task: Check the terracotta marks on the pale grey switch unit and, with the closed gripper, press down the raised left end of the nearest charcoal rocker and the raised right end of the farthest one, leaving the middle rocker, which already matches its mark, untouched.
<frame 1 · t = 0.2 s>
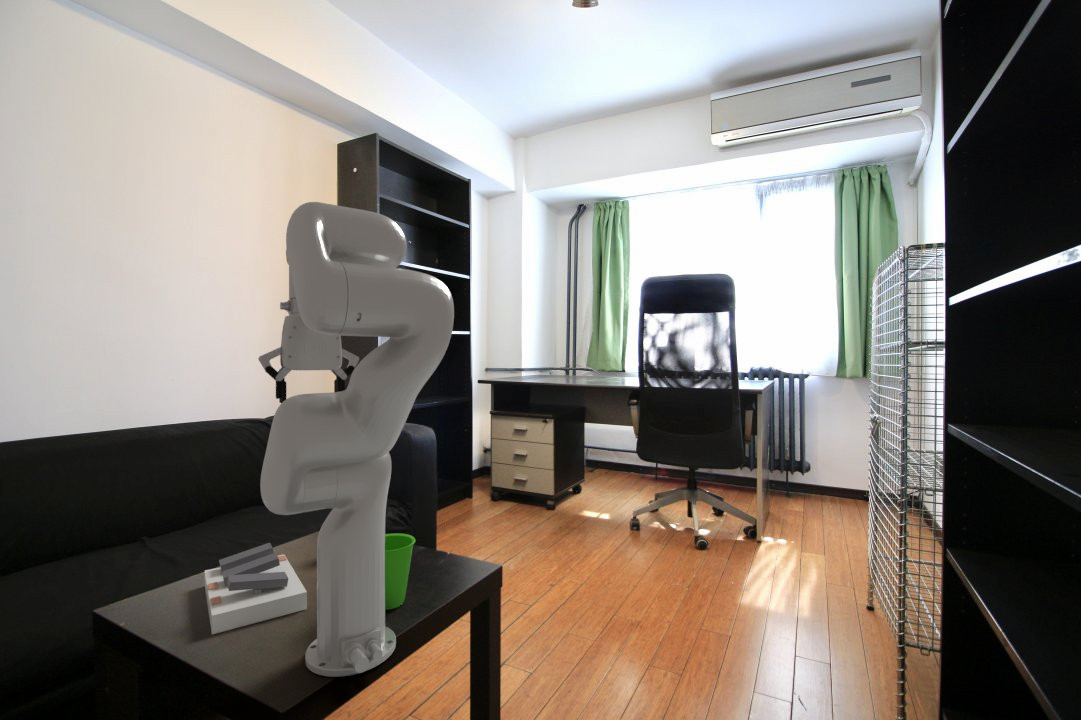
hand: (311, 401, 95), 36 cm above the table, tool pointing down, fingers open, 9 cm apart
cup: (389, 604, 91), on the table
rocker middle: (251, 568, 95), point 5 cm above the table, hinge at -10.0°
switch unit: (253, 596, 94), on the table
rocker near: (258, 580, 89), point 5 cm above the table, hinge at 10.0°
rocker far: (246, 557, 100), point 5 cm above the table, hinge at -10.0°
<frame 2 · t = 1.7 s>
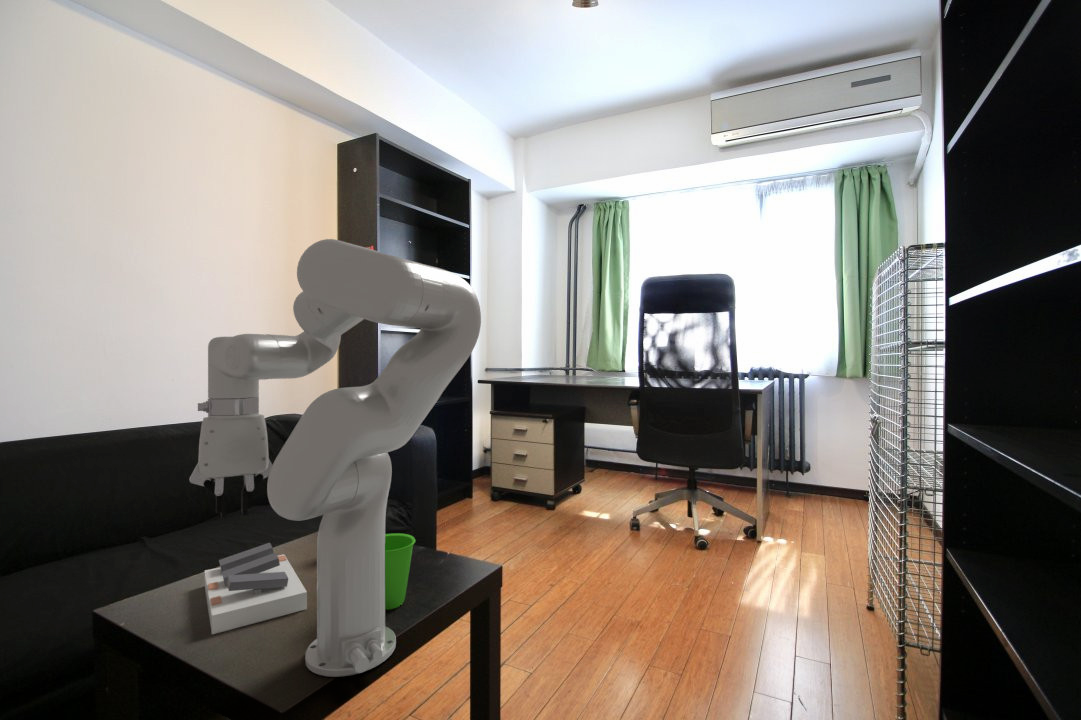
hand: (234, 514, 87), 17 cm above the table, tool pointing down, fingers closed
nothing on the table moved.
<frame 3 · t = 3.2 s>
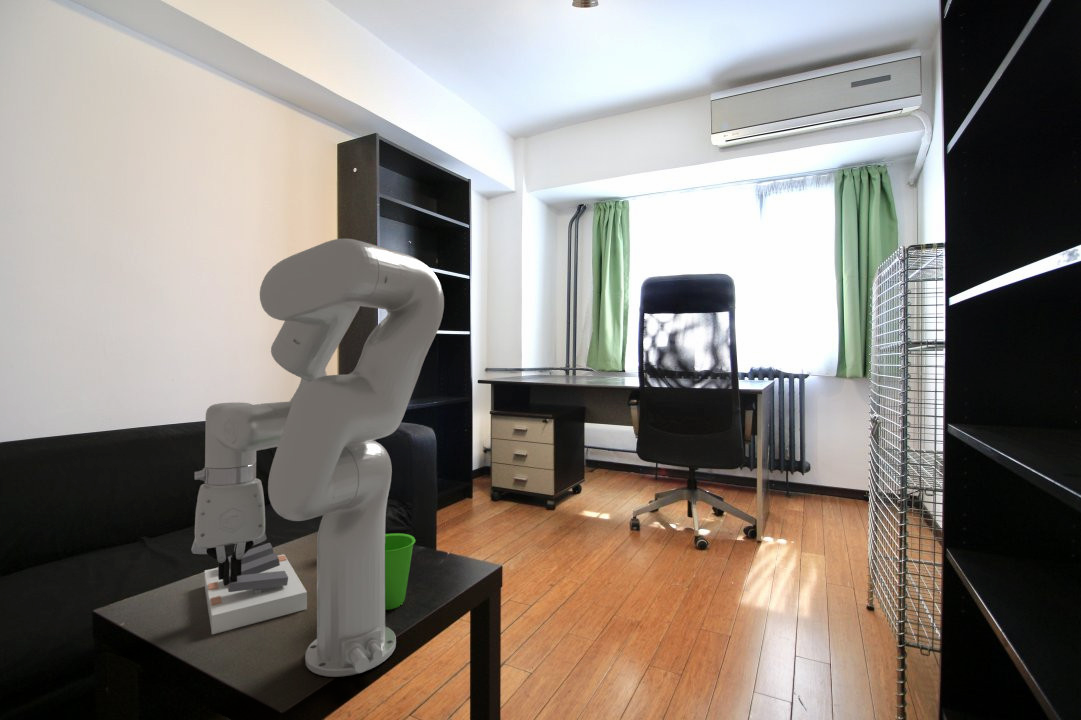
hand: (229, 581, 87), 6 cm above the table, tool pointing down, fingers closed
rocker near: (257, 581, 89), point 5 cm above the table, hinge at 7.5°, touching gripper
everything else where it was.
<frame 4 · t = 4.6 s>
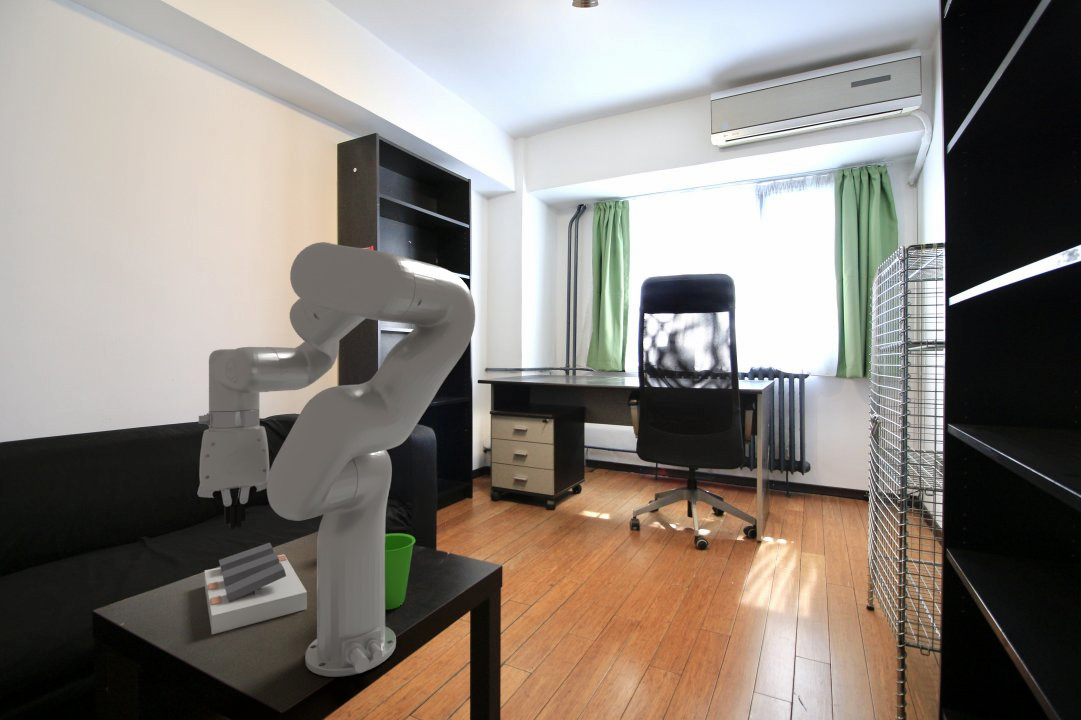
hand: (234, 526, 88), 15 cm above the table, tool pointing down, fingers closed
rocker near: (255, 581, 89), point 5 cm above the table, hinge at -14.1°
everything else where it was.
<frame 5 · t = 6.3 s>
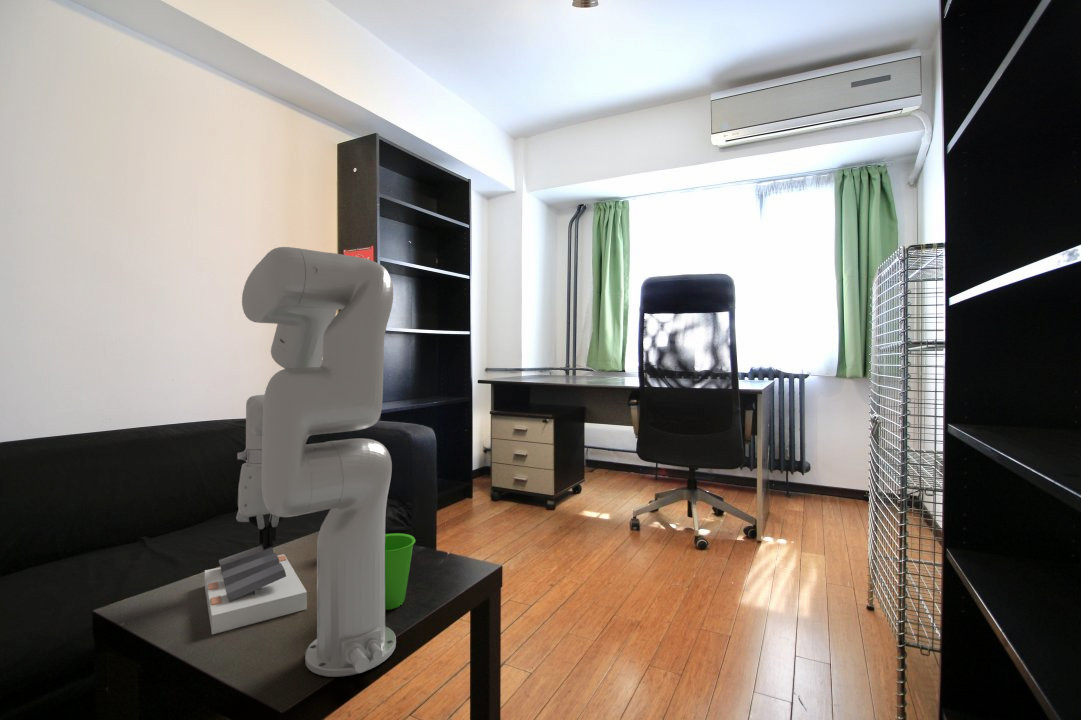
hand: (267, 545, 103), 6 cm above the table, tool pointing down, fingers closed
rocker near: (256, 581, 89), point 5 cm above the table, hinge at -13.3°
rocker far: (246, 557, 100), point 5 cm above the table, hinge at -10.0°, touching gripper
everything else where it was.
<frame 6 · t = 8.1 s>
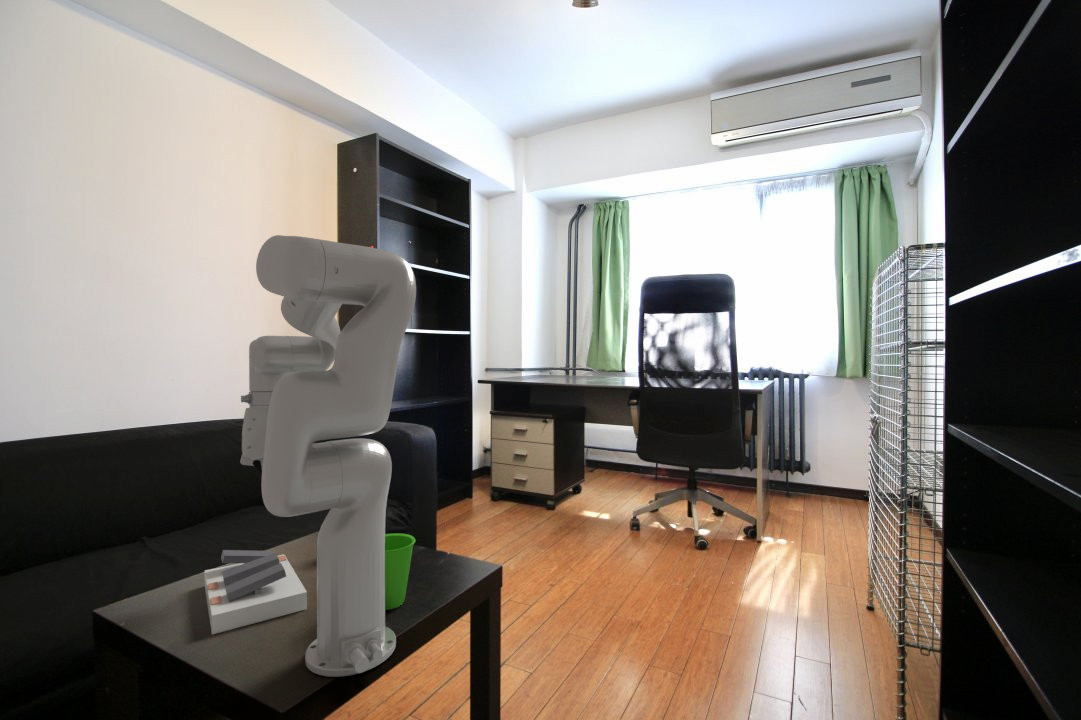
hand: (271, 491, 102), 17 cm above the table, tool pointing down, fingers closed
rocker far: (248, 556, 101), point 5 cm above the table, hinge at 13.5°
everything else where it was.
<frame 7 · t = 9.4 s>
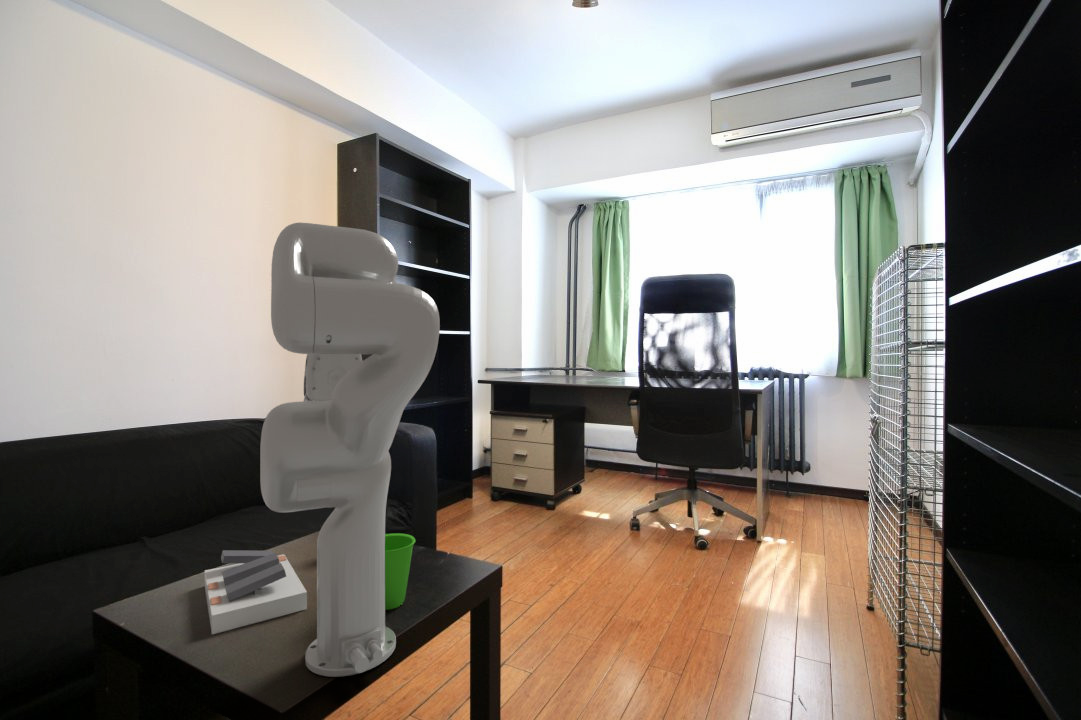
hand: (334, 437, 95), 29 cm above the table, tool pointing down, fingers closed
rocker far: (248, 556, 101), point 5 cm above the table, hinge at 12.9°
everything else where it was.
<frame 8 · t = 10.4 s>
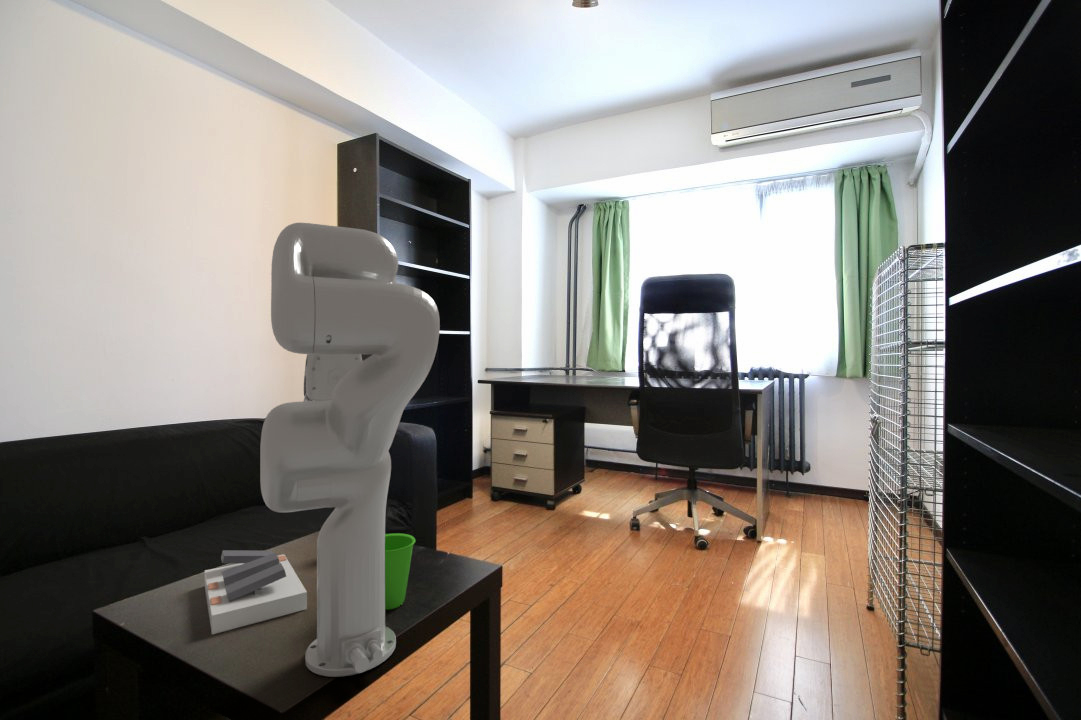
hand: (334, 437, 95), 29 cm above the table, tool pointing down, fingers closed
nothing on the table moved.
at the end: rocker near at -13° (first picture: +10°); rocker middle at -10° (first picture: -10°); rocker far at +13° (first picture: -10°) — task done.
